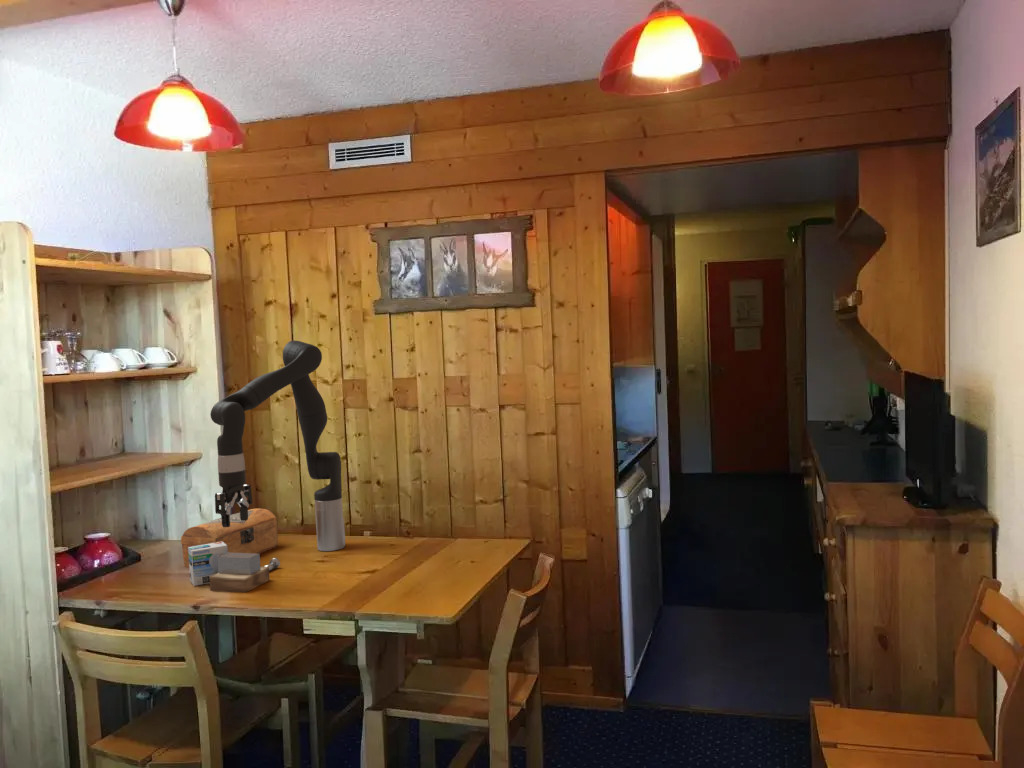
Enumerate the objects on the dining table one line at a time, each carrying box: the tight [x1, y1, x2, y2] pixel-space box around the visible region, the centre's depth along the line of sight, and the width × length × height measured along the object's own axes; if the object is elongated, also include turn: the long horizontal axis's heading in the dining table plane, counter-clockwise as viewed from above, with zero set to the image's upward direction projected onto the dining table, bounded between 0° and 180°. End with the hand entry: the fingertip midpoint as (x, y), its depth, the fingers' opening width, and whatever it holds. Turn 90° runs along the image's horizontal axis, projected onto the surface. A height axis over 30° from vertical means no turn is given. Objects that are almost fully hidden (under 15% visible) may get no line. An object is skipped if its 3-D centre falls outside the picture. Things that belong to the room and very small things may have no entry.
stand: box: [209, 566, 271, 593], centre depth 242 cm, size 12×12×4 cm
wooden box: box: [180, 508, 279, 568], centre depth 276 cm, size 30×16×14 cm, turn 156°
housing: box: [217, 552, 261, 575], centre depth 241 cm, size 11×5×5 cm, turn 73°
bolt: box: [263, 557, 281, 572], centre depth 256 cm, size 6×3×3 cm, turn 163°
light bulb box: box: [188, 541, 228, 587], centre depth 248 cm, size 11×7×11 cm, turn 122°
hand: (235, 523), depth 241 cm, fingers open, 8 cm apart
